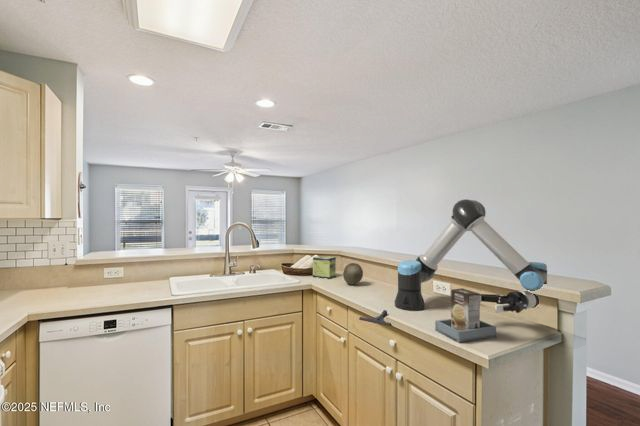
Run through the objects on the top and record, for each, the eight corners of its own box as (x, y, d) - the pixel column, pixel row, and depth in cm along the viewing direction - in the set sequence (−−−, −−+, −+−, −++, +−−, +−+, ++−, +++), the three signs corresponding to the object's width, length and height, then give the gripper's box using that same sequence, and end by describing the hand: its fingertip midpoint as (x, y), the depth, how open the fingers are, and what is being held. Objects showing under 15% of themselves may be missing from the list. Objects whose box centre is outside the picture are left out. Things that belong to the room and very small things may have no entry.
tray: (435, 330, 124) (435, 320, 124) (470, 325, 130) (470, 316, 130) (458, 342, 112) (458, 332, 112) (496, 337, 117) (496, 326, 117)
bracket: (400, 317, 142) (400, 311, 142) (389, 327, 129) (389, 320, 129) (372, 312, 149) (372, 307, 150) (359, 321, 137) (359, 315, 137)
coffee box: (450, 328, 124) (450, 289, 124) (462, 326, 126) (462, 287, 126) (468, 336, 115) (468, 294, 115) (480, 334, 117) (480, 293, 118)
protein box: (329, 279, 229) (329, 258, 229) (312, 277, 237) (312, 257, 237) (336, 277, 238) (336, 257, 238) (319, 275, 246) (319, 256, 246)
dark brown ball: (339, 285, 207) (339, 263, 207) (348, 282, 219) (348, 261, 219) (358, 288, 199) (358, 265, 200) (366, 284, 211) (366, 262, 212)
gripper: (550, 317, 118) (509, 323, 111) (495, 301, 142) (458, 305, 135) (550, 298, 118) (508, 303, 111) (495, 285, 142) (458, 288, 135)
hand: (481, 304), depth 123 cm, fingers open, 13 cm apart
